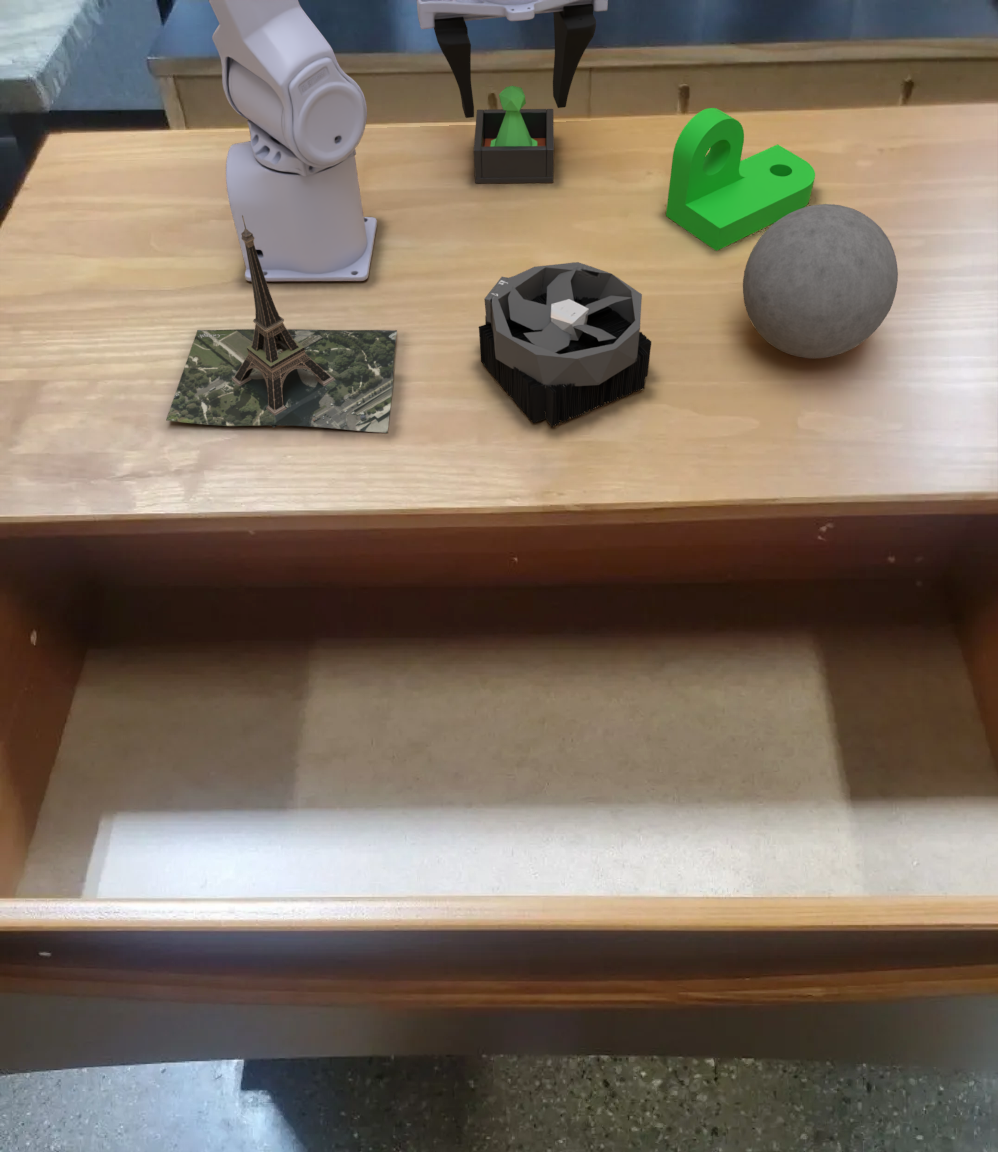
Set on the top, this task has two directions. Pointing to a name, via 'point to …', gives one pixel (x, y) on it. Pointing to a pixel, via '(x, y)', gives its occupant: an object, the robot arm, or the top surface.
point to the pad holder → (514, 149)
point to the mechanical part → (731, 182)
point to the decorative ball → (820, 281)
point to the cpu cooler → (564, 340)
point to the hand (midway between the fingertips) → (514, 106)
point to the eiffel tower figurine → (286, 372)
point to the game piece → (513, 120)
